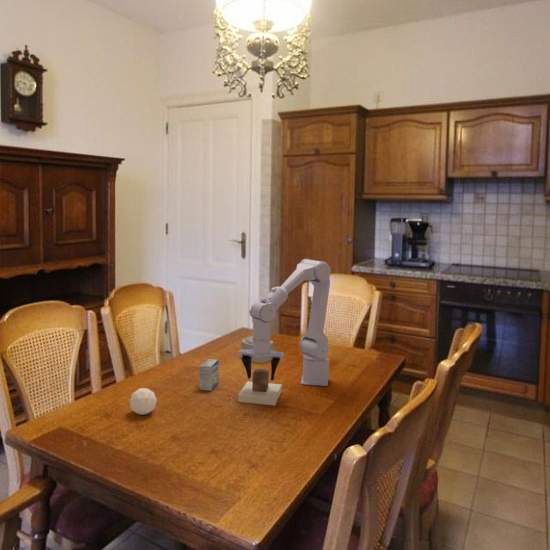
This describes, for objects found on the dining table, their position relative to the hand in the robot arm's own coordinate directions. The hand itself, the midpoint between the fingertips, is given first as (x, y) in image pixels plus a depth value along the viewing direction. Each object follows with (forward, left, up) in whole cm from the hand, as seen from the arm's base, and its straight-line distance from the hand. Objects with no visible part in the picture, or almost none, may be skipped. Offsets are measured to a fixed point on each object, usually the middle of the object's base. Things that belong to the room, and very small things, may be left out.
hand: (260, 378), depth 162 cm
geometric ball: (+32, +20, -6) cm, 38 cm away
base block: (0, 0, -7) cm, 7 cm away
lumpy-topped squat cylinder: (+9, -39, -6) cm, 40 cm away
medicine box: (+19, -5, -6) cm, 21 cm away
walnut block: (0, 0, -4) cm, 4 cm away
